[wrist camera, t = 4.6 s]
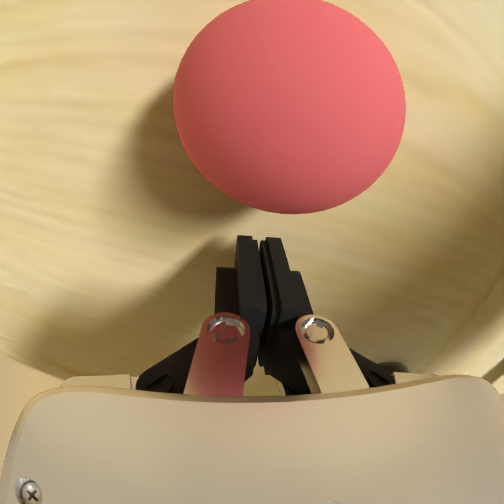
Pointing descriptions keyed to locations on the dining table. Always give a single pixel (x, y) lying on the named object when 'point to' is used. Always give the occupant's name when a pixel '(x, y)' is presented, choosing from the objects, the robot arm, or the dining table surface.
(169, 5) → the dining table surface
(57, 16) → the dining table surface
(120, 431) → the robot arm
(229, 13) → the ball
